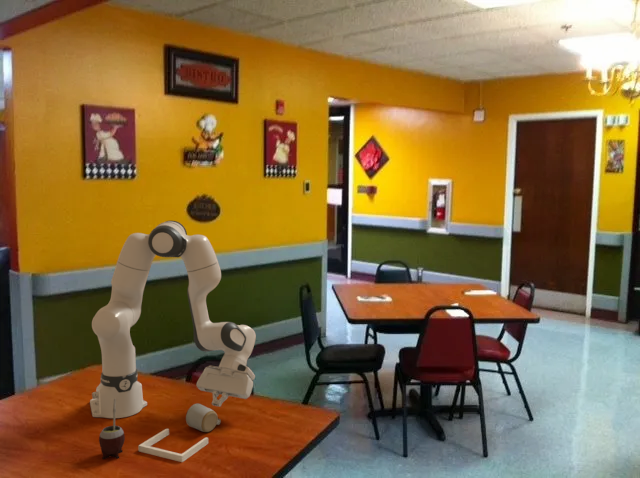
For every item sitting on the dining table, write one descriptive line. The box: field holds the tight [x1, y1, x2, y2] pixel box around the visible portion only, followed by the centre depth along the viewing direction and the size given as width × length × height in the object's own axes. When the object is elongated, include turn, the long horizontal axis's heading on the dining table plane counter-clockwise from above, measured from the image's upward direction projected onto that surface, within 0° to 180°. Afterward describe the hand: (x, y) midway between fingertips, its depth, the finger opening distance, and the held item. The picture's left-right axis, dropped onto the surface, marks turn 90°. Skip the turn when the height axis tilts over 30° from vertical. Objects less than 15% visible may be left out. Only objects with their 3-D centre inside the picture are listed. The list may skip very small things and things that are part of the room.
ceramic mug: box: [185, 403, 222, 433], centre depth 190 cm, size 11×8×8 cm
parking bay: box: [137, 428, 209, 463], centre depth 176 cm, size 16×13×2 cm
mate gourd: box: [98, 399, 126, 460], centre depth 171 cm, size 8×8×15 cm
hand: (215, 405), depth 196 cm, fingers closed
